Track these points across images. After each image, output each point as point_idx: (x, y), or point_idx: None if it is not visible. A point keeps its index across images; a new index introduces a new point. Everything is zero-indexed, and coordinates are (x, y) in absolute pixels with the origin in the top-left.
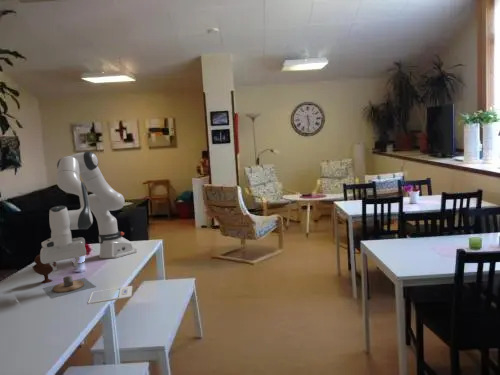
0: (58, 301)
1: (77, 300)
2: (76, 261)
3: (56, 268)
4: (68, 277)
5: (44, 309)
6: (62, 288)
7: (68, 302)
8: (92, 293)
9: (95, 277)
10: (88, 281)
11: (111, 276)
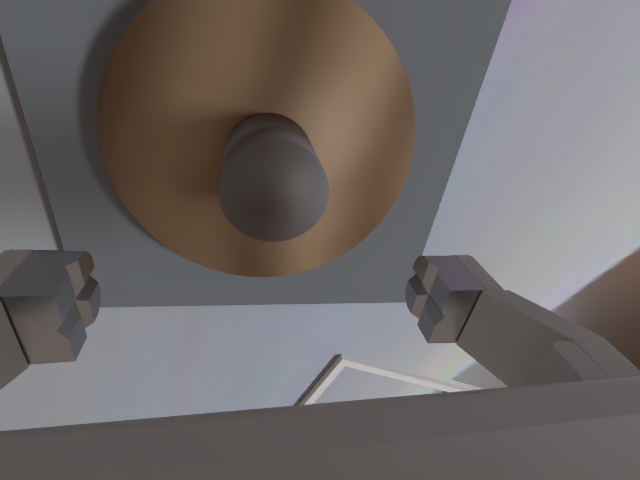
0: (132, 359)
1: (233, 402)
2: (484, 360)
3: (80, 340)
4: (281, 208)
5: (39, 416)
6: (194, 203)
7: (184, 401)
8: (329, 381)
9: (591, 18)
10: (459, 133)
11: (632, 140)
